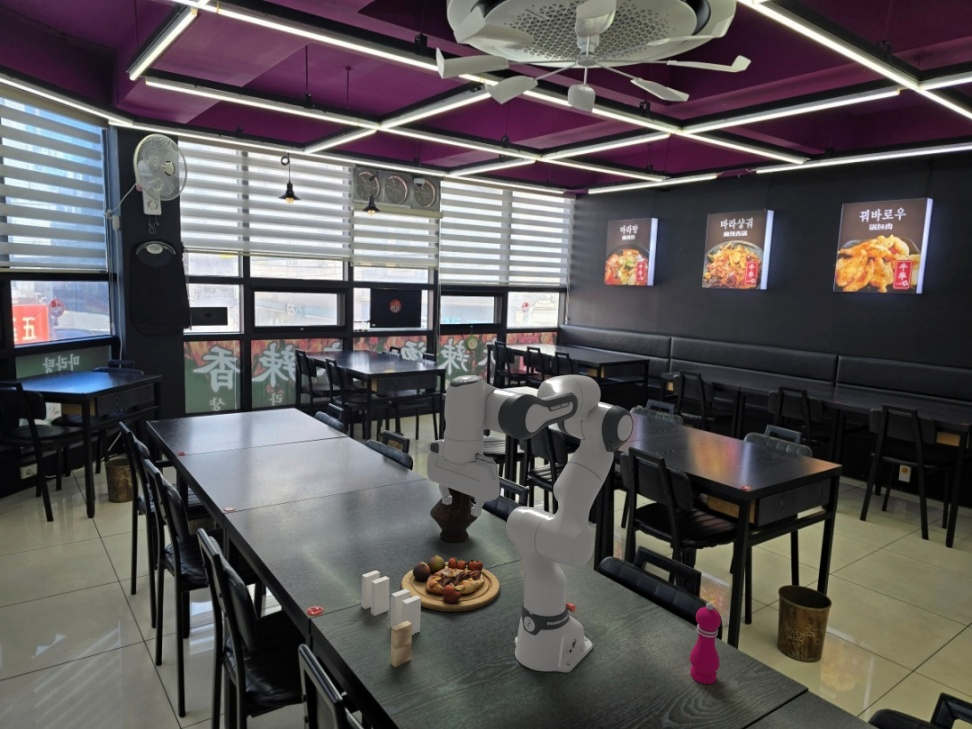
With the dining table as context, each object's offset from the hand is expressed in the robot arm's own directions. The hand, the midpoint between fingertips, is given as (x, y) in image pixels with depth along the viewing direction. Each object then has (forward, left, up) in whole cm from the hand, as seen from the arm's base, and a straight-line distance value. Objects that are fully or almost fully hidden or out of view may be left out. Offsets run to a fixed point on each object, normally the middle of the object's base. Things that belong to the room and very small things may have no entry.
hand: (461, 509), depth 141 cm
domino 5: (-11, -31, -47) cm, 57 cm away
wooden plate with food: (-37, -44, -48) cm, 74 cm away
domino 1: (-11, -51, -47) cm, 70 cm away
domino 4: (-1, -22, -47) cm, 52 cm away
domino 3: (-11, -36, -47) cm, 60 cm away
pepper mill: (-56, +33, -48) cm, 81 cm away
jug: (-64, -73, -48) cm, 108 cm away
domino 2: (-11, -46, -47) cm, 67 cm away
